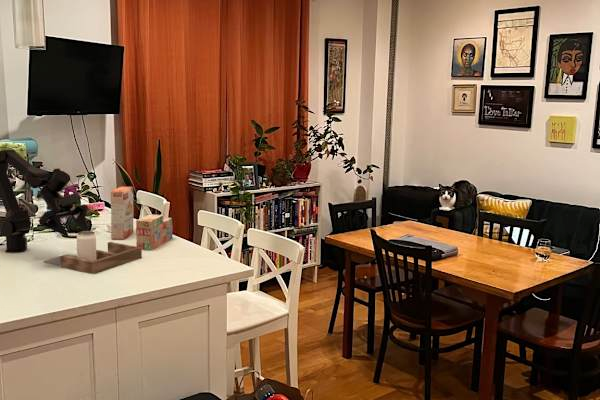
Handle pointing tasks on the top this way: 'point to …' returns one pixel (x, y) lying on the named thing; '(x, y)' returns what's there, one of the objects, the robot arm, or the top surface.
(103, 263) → the shelf lanes
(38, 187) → the robot arm
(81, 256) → the can
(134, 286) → the top surface
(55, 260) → the mat
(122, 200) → the cracker box
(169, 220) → the stack of blocks
